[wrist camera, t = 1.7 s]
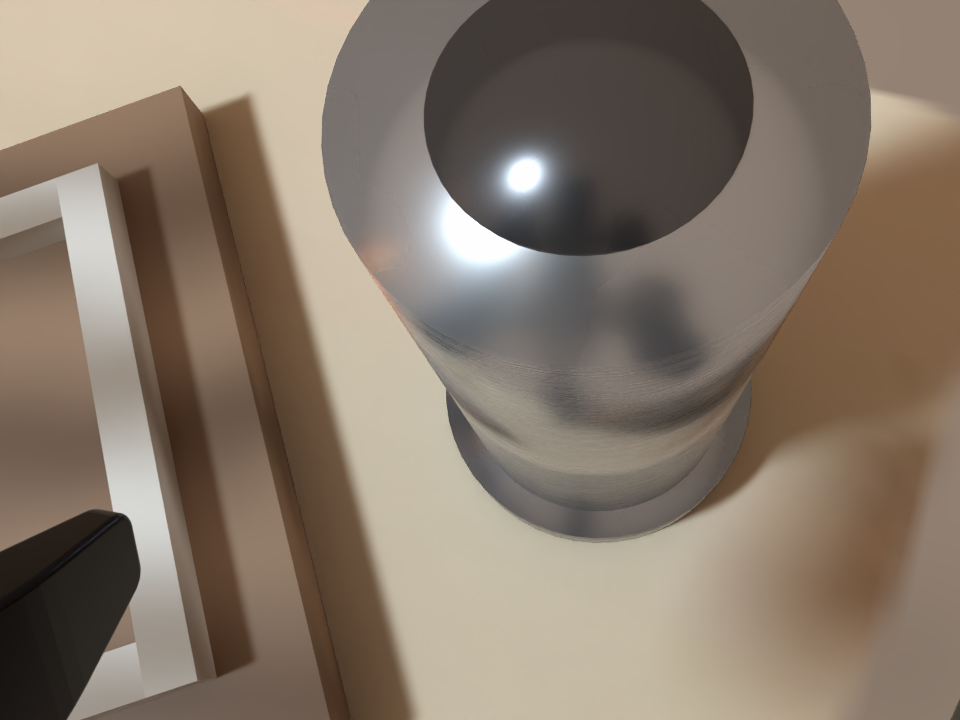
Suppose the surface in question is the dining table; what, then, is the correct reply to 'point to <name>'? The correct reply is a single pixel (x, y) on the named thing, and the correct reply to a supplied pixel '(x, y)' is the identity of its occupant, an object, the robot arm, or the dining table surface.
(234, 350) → the bronze base
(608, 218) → the silver metal cup
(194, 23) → the dining table surface
